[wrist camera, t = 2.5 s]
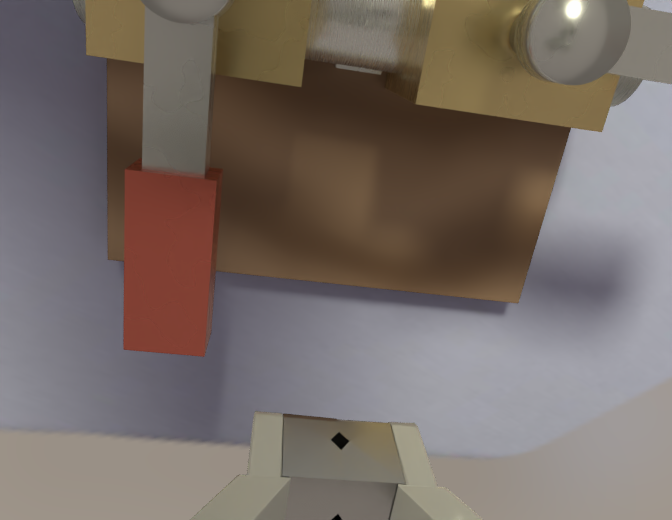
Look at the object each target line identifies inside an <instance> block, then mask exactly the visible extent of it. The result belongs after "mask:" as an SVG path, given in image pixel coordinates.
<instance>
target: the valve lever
mask: <svg viewBox="0 0 672 520" xmlns="http://www.w3.org/2000/svg"><path fill="white" fill-rule="evenodd" d="M141 2H142V3H143V4H144V5H145V33H144V85H143V138H142V158H139V159H138V160H136V161H135V162H134V163H133V164H131V165H130V166H129V167H127V168H126V169H125V217H124V350H134V351H146V352H157V353H169V354H180V355H192V356H203V357H204V356H205V353H206V349H207V346H208V342H209V338H210V335H211V328H212V314H213V301H214V287H215V273H216V260H217V246H218V233H219V219H220V206H221V192H222V179H223V169H219V168H212V167H209V165H210V149H211V133H212V118H213V102H214V87H215V71H216V56H217V40H218V25H219V17H220V16H222V15H223V14H224V13H225V12H226V11H227V10H228V9H229V8H230V7H231V5H232V4H233V2H234V0H141Z"/></svg>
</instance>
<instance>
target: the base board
mask: <svg viewBox="0 0 672 520" xmlns="http://www.w3.org/2000/svg"><path fill="white" fill-rule="evenodd" d="M386 76H387V72H385V71H382V72H381V75H379V74H372V73H366V72H360V71H353V70H347V69H340V68H335V67H334V63H327V62H321V61H314V60H308V59H305V60H304V69H303V77H302V85H301V87H297V86H291V85H284V84H277V83H270V82H264V81H257V80H250V79H244V78H237V77H230V76H224V75H217V74H215V87H214V102H213V118H212V133H211V149H210V165H209V167H212V168H219V169H223V179H222V192H221V206H220V219H219V233H218V246H217V260H216V271H220V272H229V273H239V274H248V275H257V276H267V277H276V278H286V279H295V280H305V281H314V282H323V283H333V284H342V285H352V286H361V287H370V288H380V289H389V290H399V291H408V292H417V293H427V294H436V295H446V296H455V297H464V298H474V299H483V300H493V301H502V302H511V303H518V302H519V299H520V295H521V292H522V289H523V285H524V282H525V279H526V275H527V272H528V269H529V265H530V262H531V259H532V255H533V252H534V249H535V245H536V242H537V239H538V235H539V232H540V229H541V225H542V222H543V219H544V216H545V212H546V209H547V206H548V202H549V199H550V196H551V192H552V189H553V186H554V182H555V179H556V176H557V172H558V169H559V166H560V162H561V159H562V156H563V152H564V149H565V146H566V142H567V139H568V136H569V132H570V129H571V127H564V126H558V125H551V124H544V123H538V122H531V121H524V120H518V119H511V118H504V117H498V116H491V115H484V114H478V113H471V112H464V111H457V110H451V109H444V108H437V107H431V106H424V105H417V104H414V103H412V102H410V101H408V100H406V99H405V98H403V97H401V96H399V95H397V94H395V93H393V92H391V91H389V90H387V89H385V82H386ZM143 85H144V63H137V62H130V61H124V60H117V59H110V58H107V191H108V260H116V261H124V217H125V169H126V168H127V167H129V166H130V165H131V164H133V163H134V162H135V161H136V160H138V159H139V158H142V138H143Z"/></svg>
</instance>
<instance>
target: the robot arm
mask: <svg viewBox="0 0 672 520" xmlns="http://www.w3.org/2000/svg"><path fill="white" fill-rule="evenodd" d="M191 520H483V519H482V518H481V517H480V516H479V515H477V514H476V513H475V512H474V511H473V510H472V509H470V508H469V507H468V506H467V505H465V503H463V502H462V501H461V500H460V499H459V498H458V497H456V496H455V495H454V494H453V493H452V492H451V491H450V490H448V489H447V488H445V487H438V485H437V482H436V479H435V476H434V473H433V470H432V467H431V464H430V461H429V458H428V455H427V452H426V449H425V446H424V444H423V441H422V438H421V435H420V432H419V429H418V426H417V425H416V424H414V423H398V422H388V423H381V422H367V421H353V420H339V419H333V418H323V417H313V416H303V415H293V414H283V416H282V414H281V413H270V412H258V411H255V413H254V417H253V426H252V435H251V444H250V453H249V462H248V470H247V475H238V476H237V477H236V478H235V479H234V480H233V481H231V482H230V483H229V484H228V485H227V486H226V487H225V488H224V489H223V490H222V491H221V492H220V493H218V494H217V495H216V496H215V497H214V498H213V499H212V500H211V501H210V502H209V503H208V504H207V505H206V506H205V507H203V508H202V509H201V510H200V511H199V512H198V513H197V514H196V515H195V516H194V517H193V518H192V519H191Z"/></svg>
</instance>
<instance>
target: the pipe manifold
mask: <svg viewBox="0 0 672 520" xmlns="http://www.w3.org/2000/svg"><path fill="white" fill-rule="evenodd" d="M73 3H74V6H75V9H76V11H77V14H78V16H79V17H80V19H81V20H82V21H83V23H85V24H86V55H90V56H97V57H104V58H110V59H117V60H124V61H130V62H137V63H144V33H145V5H144V4H143V3H142V2H141V0H73ZM643 3H644V0H234V2H233V4H232V5H231V7H230V8H229V9H228V10H227V11H226V12H225V13H224V14H223V15H222V16H220V17H219V25H218V40H217V56H216V71H215V74H217V75H224V76H230V77H237V78H244V79H250V80H257V81H264V82H270V83H277V84H284V85H291V86H297V87H301V85H302V77H303V69H304V60H305V59H308V60H314V61H321V62H327V63H334V67H335V68H340V69H347V70H353V71H360V72H366V73H372V74H379V75H381V72H382V71H385V72H387V76H386V82H385V89H387V90H389V91H391V92H393V93H395V94H397V95H399V96H401V97H403V98H405V99H406V100H408V101H410V102H412V103H414V104H417V105H424V106H431V107H437V108H444V109H451V110H457V111H464V112H471V113H478V114H484V115H491V116H498V117H504V118H511V119H518V120H524V121H531V122H538V123H544V124H551V125H558V126H564V127H571V128H578V129H584V130H591V131H598V132H602V130H603V127H604V124H605V121H606V118H607V115H608V111H609V108H610V107H611V106H616V105H619V104H621V103H622V102H624V101H625V100H626V99H628V98H629V97H630V96H631V95H632V94H633V93H634V91H635V90H636V89H637V88H638V86H639V85H640V83H641V82H642V80H648V81H654V82H660V83H667V84H672V13H667V12H662V11H656V10H651V9H650V8H649V7H647V6H644V5H643Z"/></svg>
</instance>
